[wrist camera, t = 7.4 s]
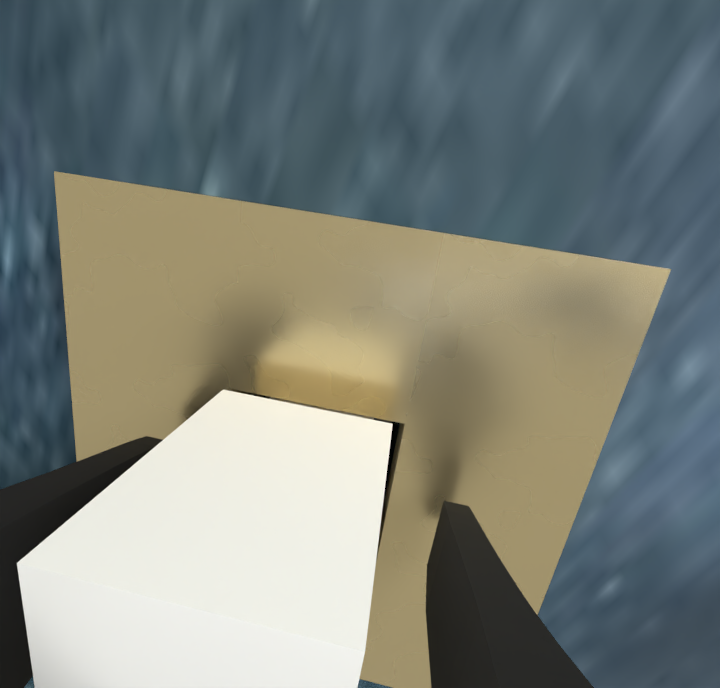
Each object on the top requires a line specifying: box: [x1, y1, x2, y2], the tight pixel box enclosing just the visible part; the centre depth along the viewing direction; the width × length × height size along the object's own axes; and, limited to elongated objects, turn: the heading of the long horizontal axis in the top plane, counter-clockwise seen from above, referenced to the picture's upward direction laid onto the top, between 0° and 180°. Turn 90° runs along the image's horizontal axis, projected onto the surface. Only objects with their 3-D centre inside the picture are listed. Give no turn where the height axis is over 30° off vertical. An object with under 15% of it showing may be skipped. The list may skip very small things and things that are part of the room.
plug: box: [17, 390, 393, 688], centre depth 9 cm, size 4×5×8 cm
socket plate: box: [54, 171, 671, 688], centre depth 12 cm, size 14×14×3 cm
